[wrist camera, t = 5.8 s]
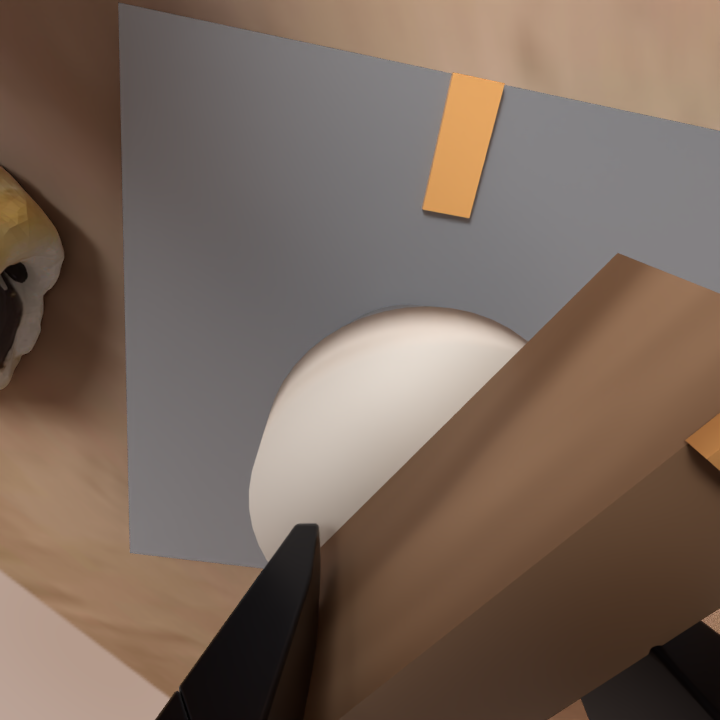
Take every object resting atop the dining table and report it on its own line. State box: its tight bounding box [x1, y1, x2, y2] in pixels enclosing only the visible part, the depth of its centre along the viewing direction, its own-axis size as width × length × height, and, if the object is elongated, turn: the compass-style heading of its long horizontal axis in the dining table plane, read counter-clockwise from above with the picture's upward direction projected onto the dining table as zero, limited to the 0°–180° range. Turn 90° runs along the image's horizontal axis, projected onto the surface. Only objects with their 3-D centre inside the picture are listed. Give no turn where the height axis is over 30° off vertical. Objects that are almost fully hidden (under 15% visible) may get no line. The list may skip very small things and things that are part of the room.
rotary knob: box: [249, 253, 720, 720], centre depth 8 cm, size 7×11×6 cm, turn 141°
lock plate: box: [118, 2, 720, 569], centre depth 13 cm, size 16×16×4 cm
